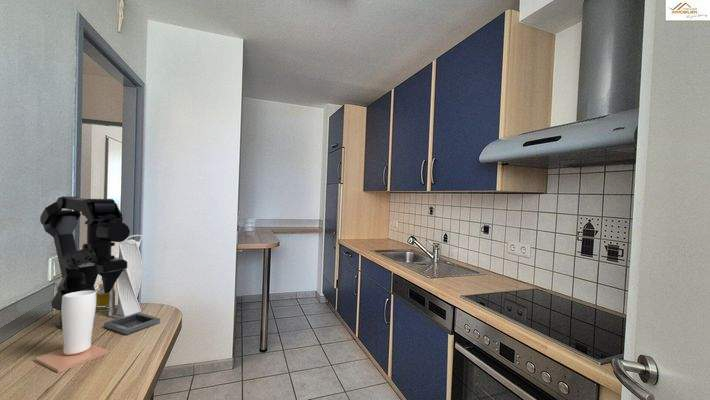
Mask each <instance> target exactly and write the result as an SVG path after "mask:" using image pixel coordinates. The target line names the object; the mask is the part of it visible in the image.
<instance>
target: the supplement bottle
mask: <svg viewBox="0 0 710 400" xmlns="http://www.w3.org/2000/svg"><path fill="white" fill-rule="evenodd" d="M110 292H111V291H110ZM110 292H109V293H104V287H103V282H101V283H99V284H98V289H97V291H96V306H106V307H96V310H95V311H96V312H109V308H107V307H109V305H110ZM114 292H115V293H116V289H115V287H114Z"/></svg>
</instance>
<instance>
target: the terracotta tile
mask: <svg viewBox="0 0 710 400" xmlns="http://www.w3.org/2000/svg"><path fill="white" fill-rule="evenodd" d="M108 354H109V350H108V349H105V348H103V347H100V346H97V345H95V344H92V343H91V347H90V348H89V349H88V350H86V351H84V352H81V353H78V354H73V355H66V354H64V352H63V348H60V349H57V350H54V351H51V352H48V353H45V354H42V355H39V356H36V357H35V358H34V361H35V362H36V363H39V364H41V365H43V366H45V367H46V368H48V369H51V370H52V371H54V372H55V373H59V374H60V373H62V372H64V371H67V370H70V369H72V368H74V367H76V366H80V365H82V364H85V363H87V362H90V361H92V360H94V359H97V358H100V357H102V356H104V355H108Z"/></svg>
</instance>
